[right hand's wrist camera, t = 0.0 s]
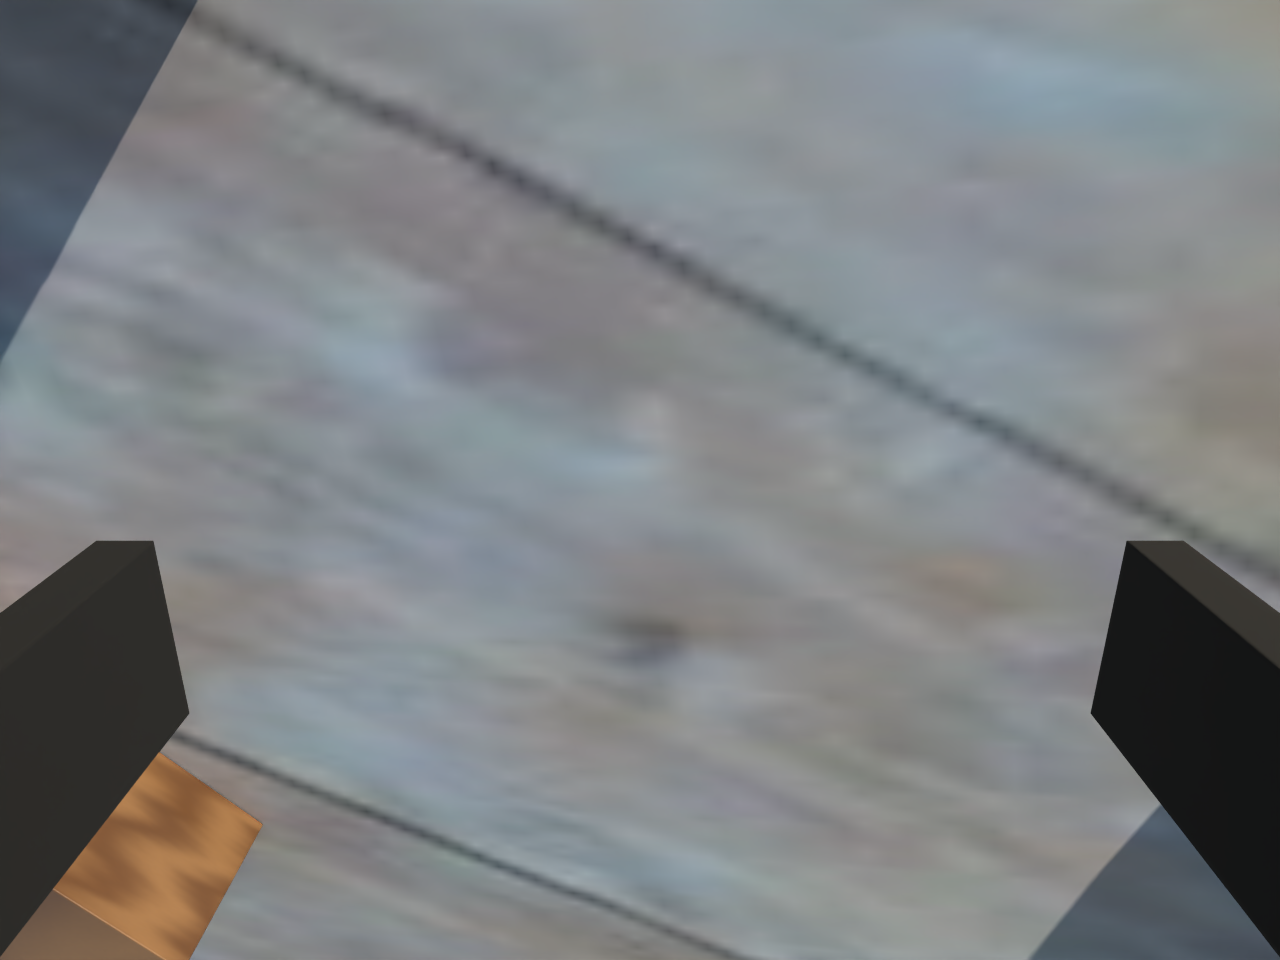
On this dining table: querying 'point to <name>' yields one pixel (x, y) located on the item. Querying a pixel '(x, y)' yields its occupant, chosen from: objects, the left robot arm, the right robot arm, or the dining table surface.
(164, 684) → the right robot arm
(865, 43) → the dining table surface
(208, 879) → the bar
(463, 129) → the dining table surface
